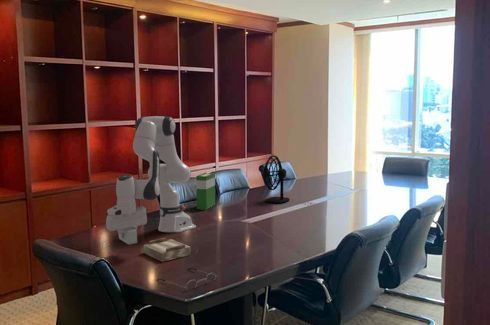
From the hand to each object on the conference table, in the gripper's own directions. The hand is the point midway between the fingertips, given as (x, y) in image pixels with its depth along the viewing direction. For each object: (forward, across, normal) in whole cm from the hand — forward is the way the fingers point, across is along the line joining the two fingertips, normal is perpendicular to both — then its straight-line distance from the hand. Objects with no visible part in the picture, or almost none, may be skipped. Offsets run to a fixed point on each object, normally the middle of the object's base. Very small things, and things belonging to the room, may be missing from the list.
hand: (127, 236), depth 231 cm
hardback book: (+12, -94, -65) cm, 114 cm away
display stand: (+10, -16, +10) cm, 21 cm away
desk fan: (+13, -148, -48) cm, 156 cm away
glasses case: (+2, 0, 0) cm, 2 cm away
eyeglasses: (+10, -3, +46) cm, 47 cm away
